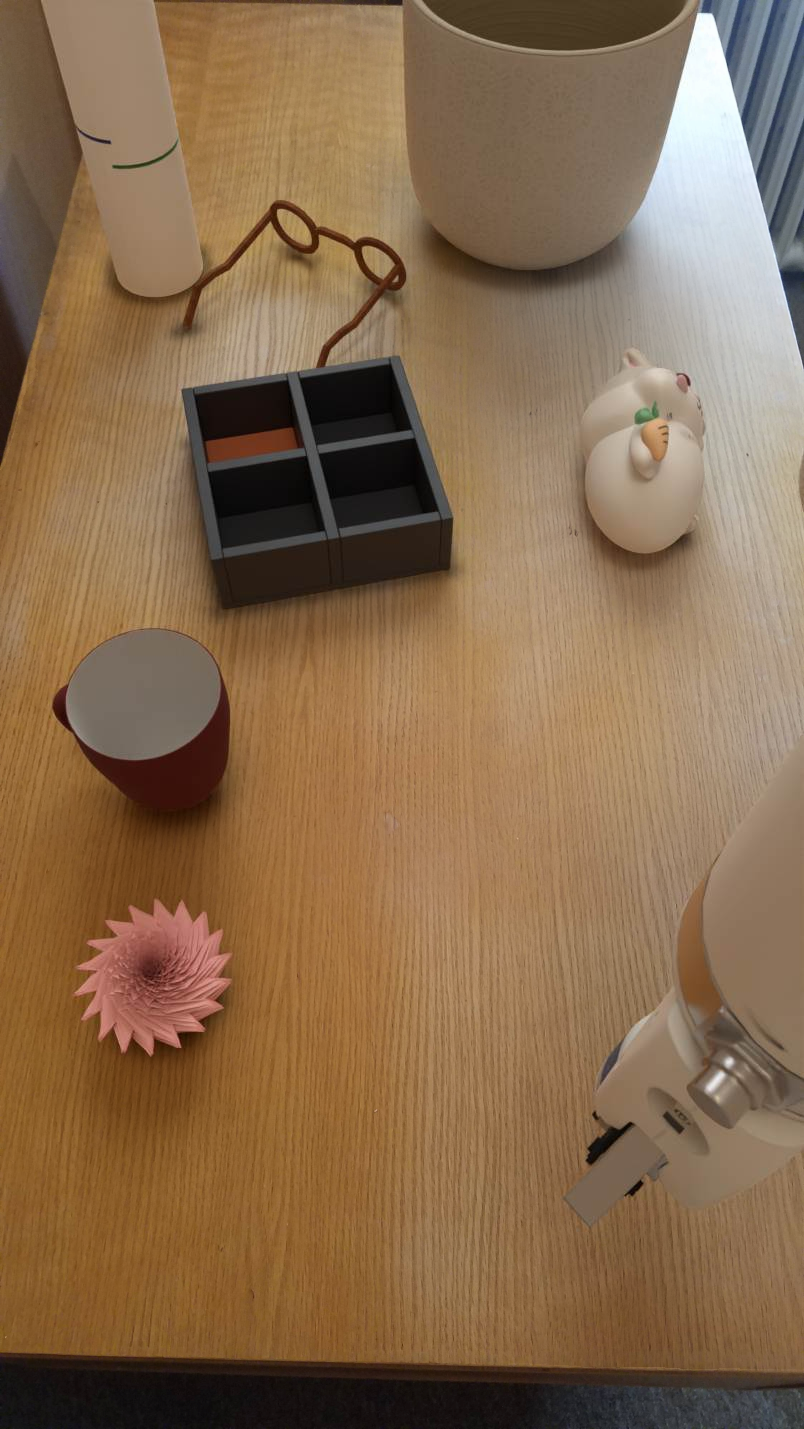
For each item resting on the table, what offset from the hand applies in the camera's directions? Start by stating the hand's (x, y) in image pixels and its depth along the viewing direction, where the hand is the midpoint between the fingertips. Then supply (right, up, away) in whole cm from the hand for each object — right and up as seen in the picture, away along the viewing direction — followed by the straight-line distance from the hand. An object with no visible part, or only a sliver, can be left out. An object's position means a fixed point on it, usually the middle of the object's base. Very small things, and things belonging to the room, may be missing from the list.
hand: (676, 1084), depth 41 cm
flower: (-24, 0, +13) cm, 27 cm away
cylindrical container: (-31, +52, +43) cm, 74 cm away
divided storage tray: (-17, +30, +30) cm, 46 cm away
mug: (-26, +11, +19) cm, 34 cm away
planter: (-1, +57, +46) cm, 73 cm away
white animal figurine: (+5, +31, +31) cm, 44 cm away
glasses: (-20, +47, +40) cm, 65 cm away
